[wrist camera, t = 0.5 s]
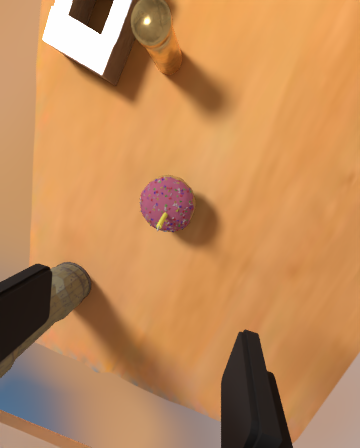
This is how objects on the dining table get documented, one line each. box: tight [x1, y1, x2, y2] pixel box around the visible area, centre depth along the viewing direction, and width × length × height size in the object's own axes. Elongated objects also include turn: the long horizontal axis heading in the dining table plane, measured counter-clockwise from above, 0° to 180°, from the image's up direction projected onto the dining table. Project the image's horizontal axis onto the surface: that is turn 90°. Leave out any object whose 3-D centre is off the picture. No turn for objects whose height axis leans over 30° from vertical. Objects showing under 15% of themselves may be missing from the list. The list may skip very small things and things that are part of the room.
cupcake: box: [140, 175, 196, 232], centre depth 32 cm, size 9×8×12 cm
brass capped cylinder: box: [131, 0, 182, 75], centre depth 29 cm, size 5×5×9 cm
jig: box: [43, 0, 139, 86], centre depth 31 cm, size 14×10×4 cm
